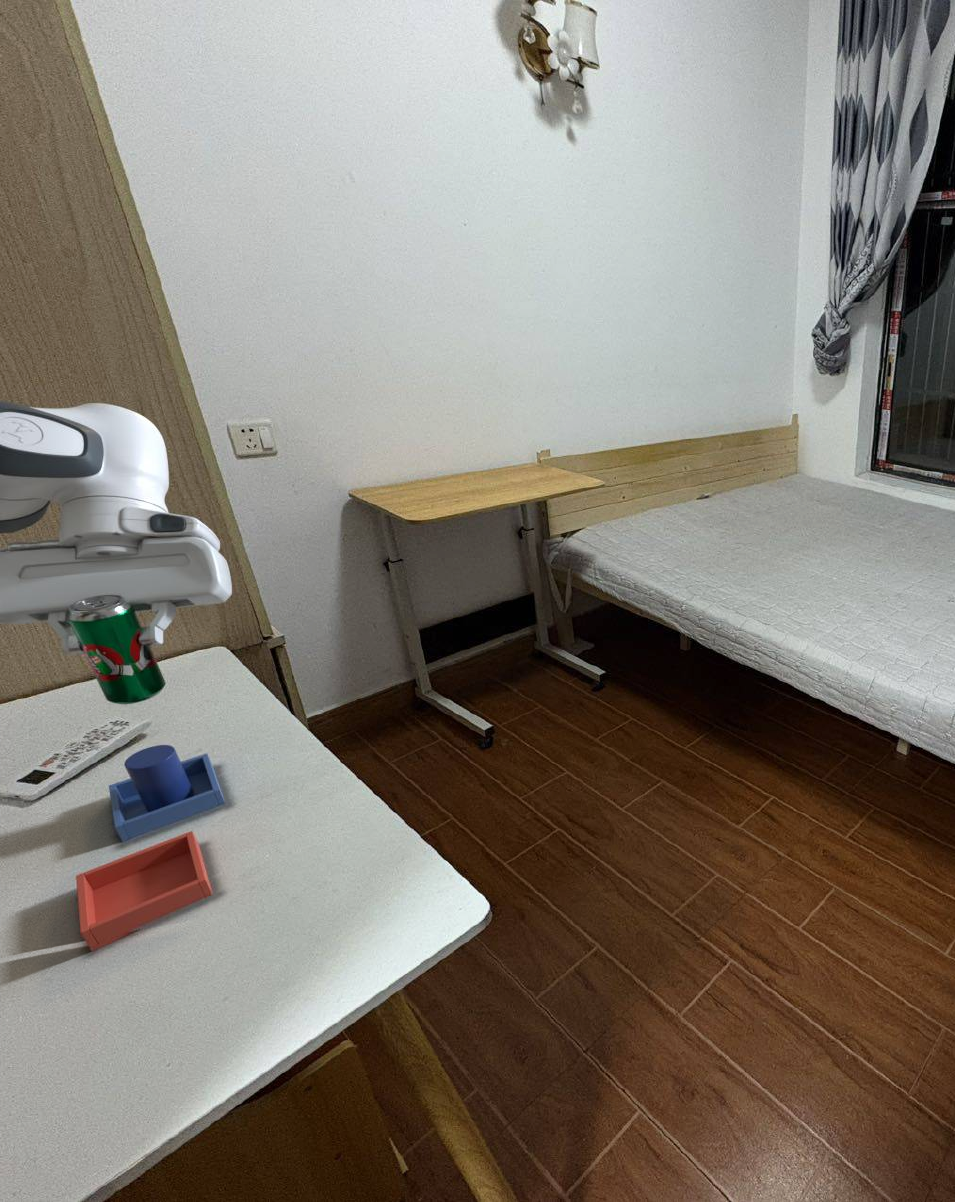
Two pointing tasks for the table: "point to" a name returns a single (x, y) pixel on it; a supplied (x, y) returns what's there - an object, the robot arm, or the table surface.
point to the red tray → (140, 889)
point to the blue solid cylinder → (158, 777)
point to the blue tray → (138, 821)
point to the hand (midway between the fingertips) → (114, 648)
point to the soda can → (116, 648)
